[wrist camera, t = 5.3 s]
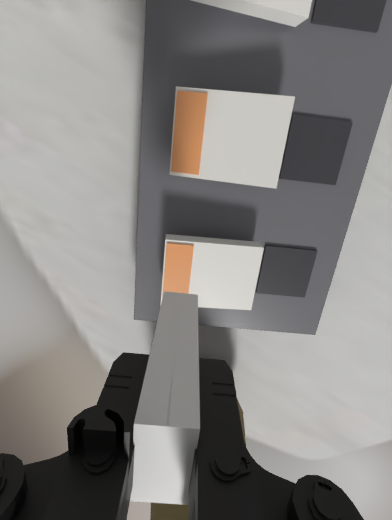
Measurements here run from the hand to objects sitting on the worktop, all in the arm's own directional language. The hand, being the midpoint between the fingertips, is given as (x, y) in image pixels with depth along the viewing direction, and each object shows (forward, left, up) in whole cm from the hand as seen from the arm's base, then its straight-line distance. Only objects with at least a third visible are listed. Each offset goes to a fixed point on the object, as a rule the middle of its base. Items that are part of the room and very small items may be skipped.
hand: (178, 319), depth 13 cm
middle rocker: (-2, -8, -6) cm, 10 cm away
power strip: (-7, -8, -11) cm, 16 cm away
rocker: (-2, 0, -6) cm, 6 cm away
